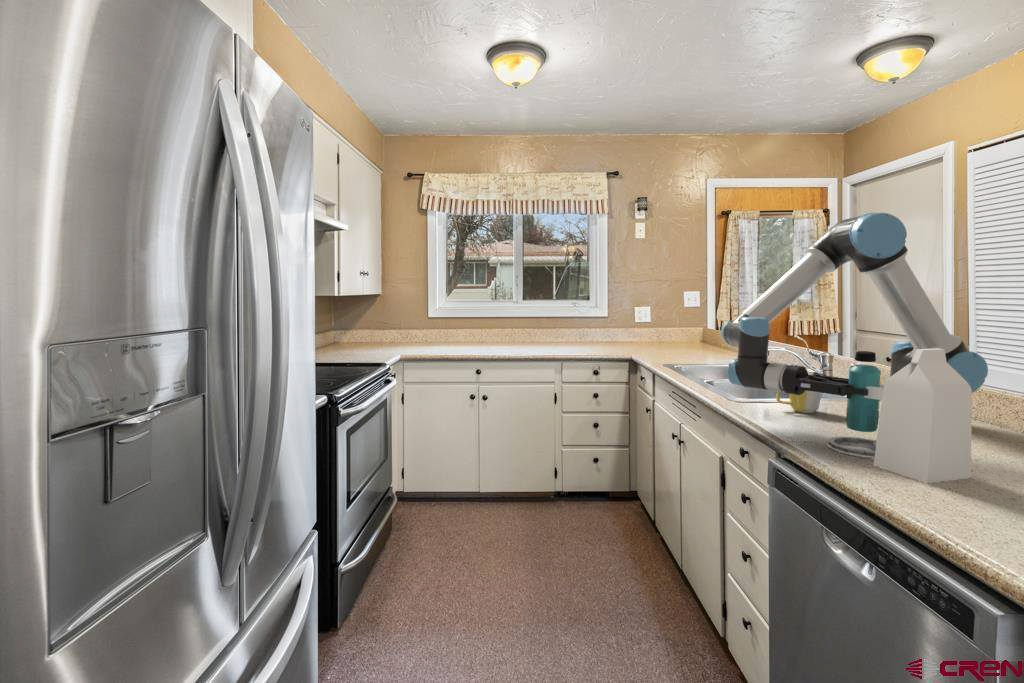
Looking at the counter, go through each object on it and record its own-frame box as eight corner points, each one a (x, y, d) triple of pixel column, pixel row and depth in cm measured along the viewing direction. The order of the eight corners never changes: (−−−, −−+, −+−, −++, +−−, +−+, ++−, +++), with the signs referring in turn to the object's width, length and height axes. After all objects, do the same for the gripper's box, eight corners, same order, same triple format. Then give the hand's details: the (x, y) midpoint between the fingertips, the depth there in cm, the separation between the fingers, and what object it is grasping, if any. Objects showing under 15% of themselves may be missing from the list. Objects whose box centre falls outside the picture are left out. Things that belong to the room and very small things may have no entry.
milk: (926, 483, 107) (937, 353, 104) (873, 465, 118) (882, 347, 115) (970, 477, 110) (982, 351, 108) (914, 460, 121) (924, 345, 119)
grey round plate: (856, 439, 138) (856, 434, 138) (911, 455, 125) (912, 450, 125) (813, 444, 134) (813, 439, 134) (866, 461, 120) (866, 455, 120)
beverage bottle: (882, 439, 125) (888, 354, 122) (850, 438, 127) (856, 353, 124) (870, 430, 131) (876, 349, 128) (840, 429, 133) (845, 349, 130)
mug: (818, 408, 173) (820, 376, 172) (827, 416, 163) (829, 381, 162) (771, 406, 177) (773, 374, 176) (777, 413, 167) (779, 379, 166)
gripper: (802, 389, 148) (902, 404, 130) (769, 396, 137) (874, 414, 118) (803, 362, 147) (905, 373, 129) (771, 367, 136) (876, 380, 118)
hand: (890, 393), depth 124 cm, fingers closed on beverage bottle, 5 cm apart
